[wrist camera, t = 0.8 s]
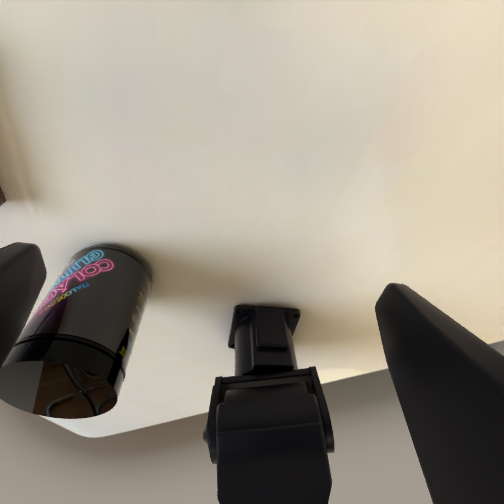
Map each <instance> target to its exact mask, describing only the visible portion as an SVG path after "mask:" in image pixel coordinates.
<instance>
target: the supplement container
mask: <svg viewBox="0 0 504 504" xmlns="http://www.w3.org/2000/svg"><path fill="white" fill-rule="evenodd" d="M151 287H152V278H151V274H150V272H149V269H148V268H147V266H146V265H145V264H144V262H143V261H142V260H141V259H140V258H138V257H137V256H136V255H134V254H133V253H131V252H129V251H127V250H125V249H122V248H119V247H114V246H107V245H98V246H91V247H88V248H85V249H83V250H81V251H79V252H78V253H76V254H75V255H74V256H73V257H72V258H71V259H70V261H69V262H68V264H67V265H66V267H65V268H64V270H63V271H62V273H61V274H60V276H59V277H58V279H57V280H56V282H55V283H54V285H53V286H52V288H51V289H50V291H49V292H48V293H47V295H46V296H45V298H44V299H43V301H42V302H41V304H40V305H39V307H38V308H37V310H36V311H35V313H34V314H33V316H32V317H31V319H30V320H29V322H28V323H27V325H26V326H25V327H24V329H23V331H22V333H21V335H20V337H19V338H18V340H17V342H16V344H15V346H14V347H13V349H12V351H11V352H10V354H9V356H8V357H7V359H6V361H5V362H4V364H3V366H2V367H1V369H0V399H2V400H3V401H5V402H6V403H8V404H10V405H12V406H14V407H16V408H18V409H21V410H24V411H27V412H30V413H33V414H37V415H41V416H47V417H53V418H64V419H79V418H88V417H94V416H98V415H101V414H104V413H106V412H108V411H109V410H111V409H112V408H113V407H114V406H115V405H116V403H117V400H118V397H119V393H120V390H121V387H122V383H123V381H124V379H125V375H126V369H127V365H128V362H129V359H130V356H131V352H132V349H133V346H134V343H135V339H136V336H137V333H138V330H139V326H140V323H141V320H142V316H143V313H144V310H145V307H146V303H147V300H148V297H149V294H150V290H151Z"/></svg>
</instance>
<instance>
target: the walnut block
mask: <svg viewBox="0 0 504 504" xmlns="http://www.w3.org/2000/svg"><path fill="white" fill-rule="evenodd" d="M3 203H5V198H4V196H3V193H2V191H1V188H0V206H1V205H2V204H3Z"/></svg>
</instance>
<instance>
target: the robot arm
mask: <svg viewBox="0 0 504 504" xmlns="http://www.w3.org/2000/svg"><path fill="white" fill-rule="evenodd" d="M46 274H47V273H46V267H45V264H44V261H43V258H42V254H41V251H40V249H39V247H38V246H37V245H35V244H31V243H22V242H16V243H13V244H10V245H8V246H6V247H3V248H1V249H0V369H1V367H2V366H3V364H4V362H5V361H6V359H7V357H8V356H9V354H10V352H11V351H12V349H13V347H14V346H15V344H16V342H17V340H18V338H19V337H20V335H21V333H22V331H23V329H24V327H25V324H26V322H27V320H28V318H29V315H30V313H31V311H32V309H33V306H34V304H35V302H36V300H37V298H38V295H39V293H40V291H41V289H42V286H43V284H44V282H45V279H46ZM375 312H376V317H377V321H378V326H379V331H380V335H381V340H382V344H383V349H384V353H385V357H386V361H387V364H388V368H389V371H390V374H391V377H392V380H393V383H394V386H395V389H396V392H397V395H398V398H399V401H400V404H401V407H402V410H403V413H404V416H405V419H406V423H407V425H408V429H409V431H410V434H411V437H412V440H413V444H414V447H415V450H416V453H417V456H418V459H419V462H420V465H421V468H422V471H423V474H424V477H425V480H426V483H427V486H428V489H429V492H430V495H431V498H432V501H433V504H504V356H503V355H501V354H500V353H499V352H497V351H496V350H495V349H493V348H492V347H490V346H489V345H488V344H486V343H485V342H484V341H482V340H481V339H479V338H478V337H477V336H475V335H474V334H473V333H471V332H470V331H468V330H467V329H466V328H464V327H463V326H461V325H460V324H459V323H457V322H456V321H455V320H453V319H452V318H450V317H449V316H448V315H446V314H445V313H444V312H442V311H441V310H439V309H438V308H437V307H435V306H434V305H433V304H431V303H430V302H428V301H427V300H426V299H424V298H423V297H421V296H420V295H419V294H417V293H416V292H415V291H413V290H412V289H410V288H409V287H408V286H406V285H404V284H397V283H390V284H388V285H387V286H386V288H385V289H384V291H383V293H382V294H381V296H380V297H379V299H378V301H377V302H376V306H375ZM299 318H300V311H299V310H298V309H287V308H273V307H259V306H245V305H238V306H236V307H235V308H234V313H233V319H232V324H231V330H230V335H229V341H228V347H229V348H232V349H235V376H231V377H222V376H221V377H216V379H215V385H214V386H213V389H212V395H211V401H210V407H209V414H208V419H207V423H206V425H205V429H204V432H203V439H204V441H205V442H206V443H207V444H208V447H209V452H210V458H211V461H212V463H213V464H217V484H218V485H217V486H218V495H217V496H218V501H219V503H220V504H328V500H329V496H330V491H331V486H332V478H331V474H330V467H329V461H328V455H327V453H334V437H333V431H332V425H331V420H330V416H329V411H328V407H327V403H326V400H325V397H324V394H323V390H322V387H321V384H320V380H319V377H318V374H317V370H316V367H315V366H314V367H309V368H305V369H298V367H297V361H296V356H295V350H294V344H293V339H292V336H293V333H294V331H295V328H296V326H297V323H298V320H299Z"/></svg>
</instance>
